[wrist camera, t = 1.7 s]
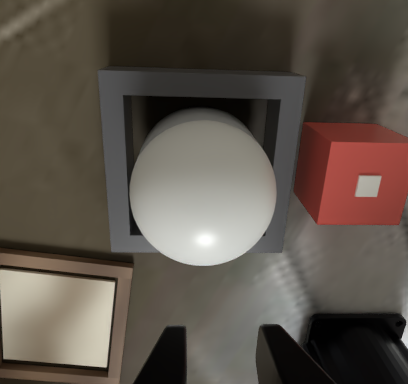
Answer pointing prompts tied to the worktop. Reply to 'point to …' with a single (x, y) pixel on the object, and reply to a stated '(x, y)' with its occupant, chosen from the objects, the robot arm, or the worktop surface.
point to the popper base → (273, 147)
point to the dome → (202, 187)
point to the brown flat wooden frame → (62, 316)
